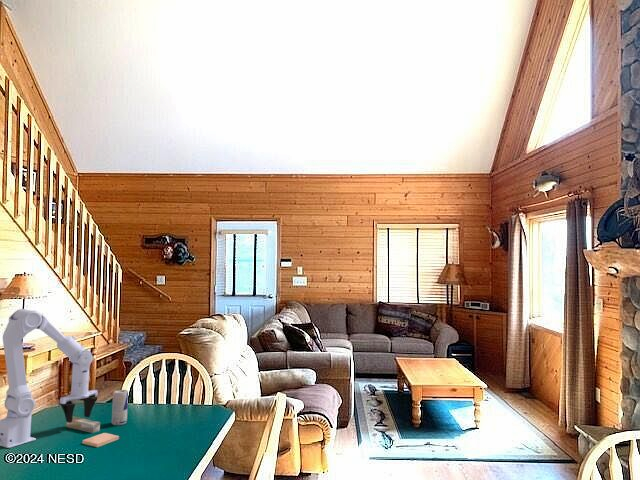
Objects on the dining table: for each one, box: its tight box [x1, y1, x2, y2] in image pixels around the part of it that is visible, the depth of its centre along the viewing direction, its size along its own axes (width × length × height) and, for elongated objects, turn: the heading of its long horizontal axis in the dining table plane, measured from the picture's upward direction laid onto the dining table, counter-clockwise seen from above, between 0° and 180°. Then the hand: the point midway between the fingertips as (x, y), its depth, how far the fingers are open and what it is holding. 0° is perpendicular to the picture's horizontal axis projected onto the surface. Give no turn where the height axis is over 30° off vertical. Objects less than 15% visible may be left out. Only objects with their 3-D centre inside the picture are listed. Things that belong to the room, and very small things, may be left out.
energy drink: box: [111, 389, 129, 426], centre depth 189 cm, size 5×5×12 cm
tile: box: [82, 432, 120, 448], centre depth 169 cm, size 9×2×7 cm
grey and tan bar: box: [65, 416, 101, 434], centre depth 181 cm, size 3×14×3 cm, turn 64°
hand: (78, 419), depth 183 cm, fingers open, 7 cm apart
